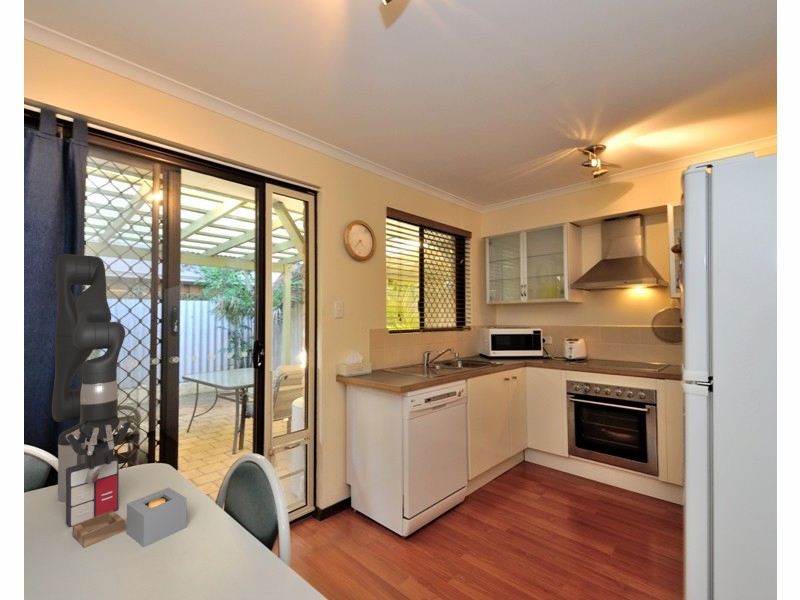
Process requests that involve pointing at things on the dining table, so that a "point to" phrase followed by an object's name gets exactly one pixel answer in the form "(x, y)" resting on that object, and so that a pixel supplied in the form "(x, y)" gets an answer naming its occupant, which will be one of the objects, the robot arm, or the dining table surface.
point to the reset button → (156, 502)
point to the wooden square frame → (98, 528)
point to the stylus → (98, 461)
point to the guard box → (156, 517)
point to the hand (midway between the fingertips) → (99, 465)
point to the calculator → (91, 492)
